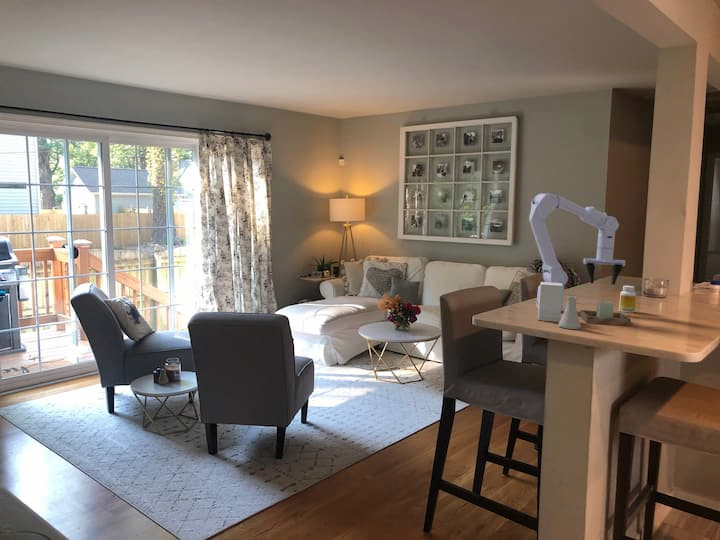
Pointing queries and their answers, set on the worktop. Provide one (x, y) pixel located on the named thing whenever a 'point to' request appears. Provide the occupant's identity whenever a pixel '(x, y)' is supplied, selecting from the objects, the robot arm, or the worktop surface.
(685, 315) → the worktop surface
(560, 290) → the supplement box
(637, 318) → the worktop surface
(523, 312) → the worktop surface
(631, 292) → the supplement bottle
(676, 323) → the worktop surface
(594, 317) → the tray
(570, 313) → the flask
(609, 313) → the sage block
